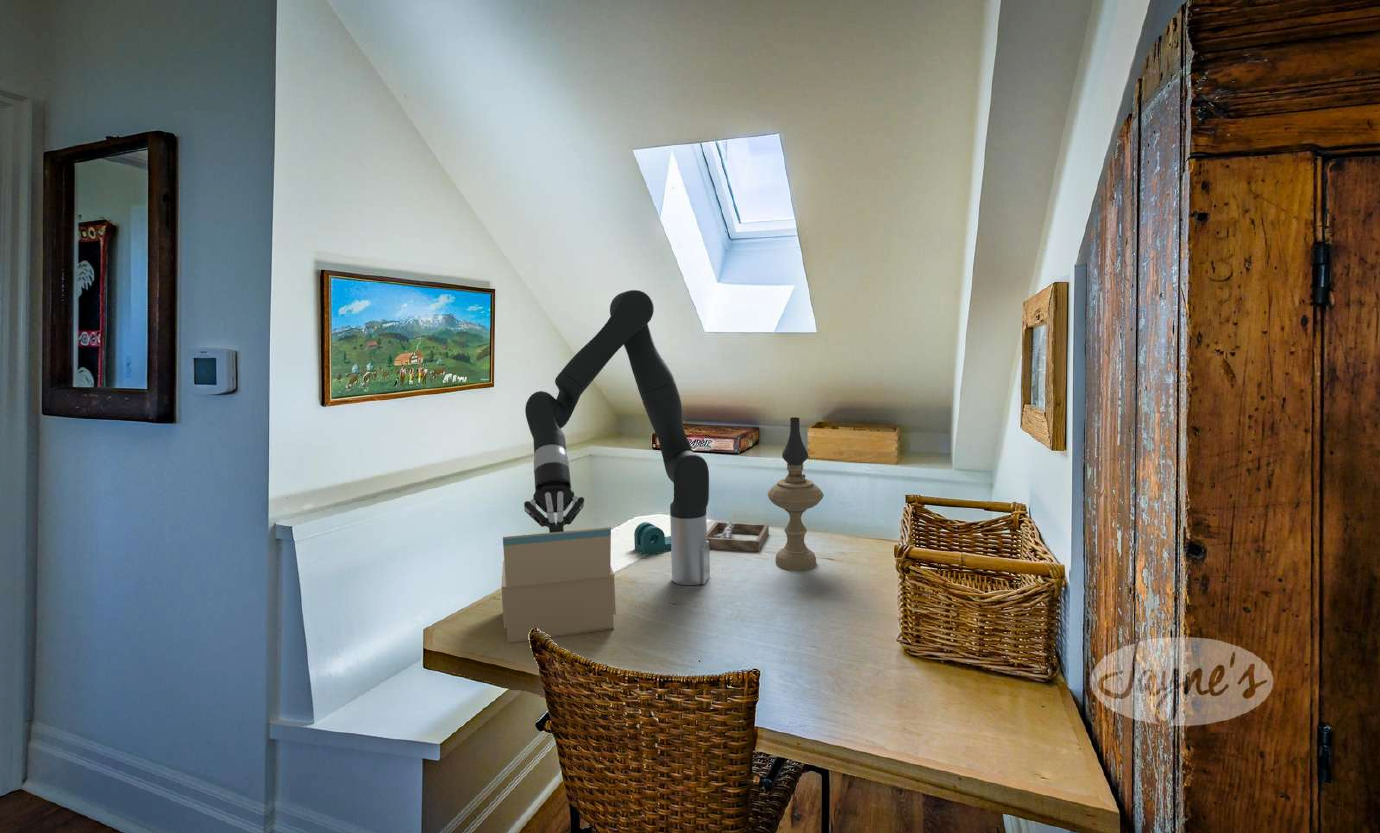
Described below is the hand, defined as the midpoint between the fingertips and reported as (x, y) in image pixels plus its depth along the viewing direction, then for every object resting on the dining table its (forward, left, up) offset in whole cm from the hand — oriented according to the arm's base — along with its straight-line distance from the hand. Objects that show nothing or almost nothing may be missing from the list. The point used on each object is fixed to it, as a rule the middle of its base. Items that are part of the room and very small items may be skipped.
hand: (557, 541), depth 135 cm
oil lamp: (-41, -59, -22) cm, 75 cm away
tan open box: (+6, -11, -21) cm, 25 cm away
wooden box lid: (0, -1, -3) cm, 3 cm away
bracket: (-2, -66, -22) cm, 69 cm away
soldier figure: (-18, -76, -22) cm, 81 cm away
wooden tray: (-21, -76, -21) cm, 81 cm away
